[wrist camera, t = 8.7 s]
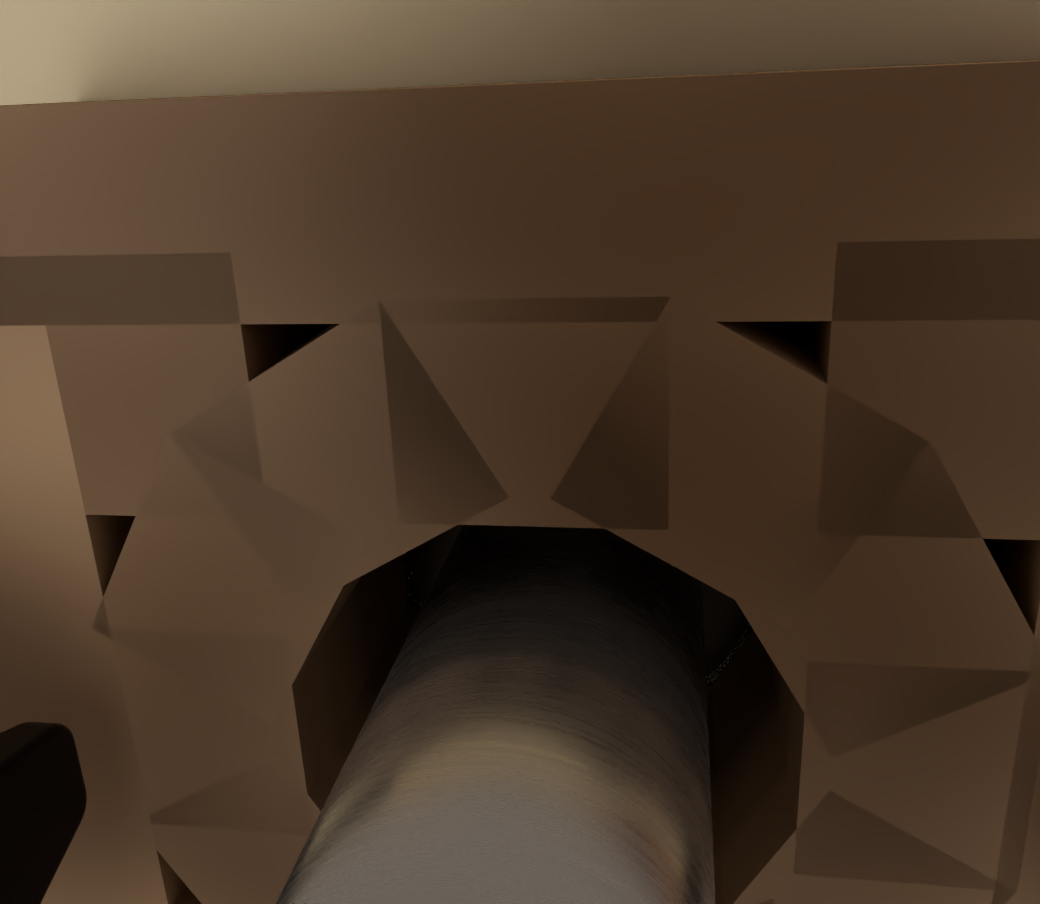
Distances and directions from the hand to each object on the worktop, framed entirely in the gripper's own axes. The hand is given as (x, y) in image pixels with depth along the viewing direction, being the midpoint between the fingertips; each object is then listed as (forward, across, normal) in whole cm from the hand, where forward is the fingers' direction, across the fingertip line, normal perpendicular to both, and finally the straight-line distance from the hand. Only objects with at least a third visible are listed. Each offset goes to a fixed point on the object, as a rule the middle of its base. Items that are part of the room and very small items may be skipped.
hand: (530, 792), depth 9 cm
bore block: (+4, 0, 0) cm, 4 cm away
